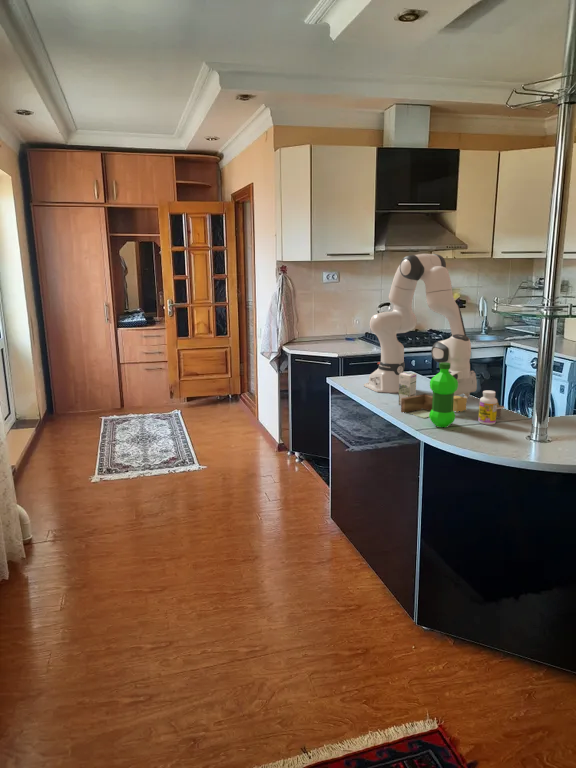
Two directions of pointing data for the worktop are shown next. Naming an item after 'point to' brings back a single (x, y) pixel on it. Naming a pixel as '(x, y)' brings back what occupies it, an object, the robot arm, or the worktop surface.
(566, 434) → the worktop surface
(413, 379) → the syrup box
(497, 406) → the platform
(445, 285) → the robot arm
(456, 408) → the block
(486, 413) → the supplement bottle
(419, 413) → the pad
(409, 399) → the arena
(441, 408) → the plastic bottle
